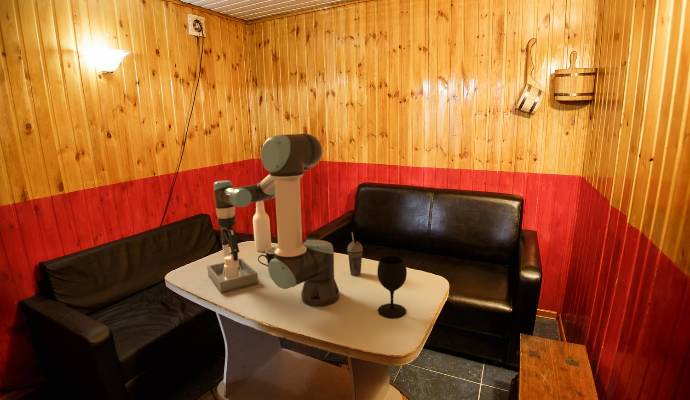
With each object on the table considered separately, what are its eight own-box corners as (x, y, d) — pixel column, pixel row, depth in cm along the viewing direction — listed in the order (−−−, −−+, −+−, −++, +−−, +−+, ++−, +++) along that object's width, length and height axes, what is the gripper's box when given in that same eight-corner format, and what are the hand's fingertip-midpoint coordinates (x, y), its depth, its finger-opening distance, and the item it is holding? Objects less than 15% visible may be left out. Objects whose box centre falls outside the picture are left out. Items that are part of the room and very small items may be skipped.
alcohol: (273, 246, 208) (269, 194, 201) (268, 252, 199) (264, 198, 193) (258, 246, 209) (254, 194, 203) (252, 252, 200) (248, 198, 194)
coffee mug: (287, 267, 179) (286, 247, 176) (282, 274, 170) (281, 253, 168) (264, 266, 180) (262, 247, 178) (258, 274, 171) (256, 253, 169)
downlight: (239, 272, 171) (236, 252, 168) (243, 278, 165) (240, 257, 162) (221, 277, 166) (218, 257, 164) (225, 283, 161) (222, 262, 158)
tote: (258, 283, 161) (257, 273, 160) (221, 293, 152) (219, 282, 151) (242, 267, 179) (241, 258, 178) (208, 276, 171) (207, 265, 169)
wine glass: (371, 311, 135) (371, 260, 131) (389, 301, 142) (389, 252, 138) (394, 321, 128) (394, 268, 124) (412, 310, 135) (412, 259, 131)
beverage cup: (366, 275, 166) (365, 233, 162) (351, 278, 163) (350, 235, 159) (359, 270, 173) (358, 229, 168) (345, 272, 170) (344, 231, 166)
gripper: (243, 220, 151) (248, 269, 155) (226, 210, 172) (231, 253, 176) (225, 223, 147) (230, 273, 151) (210, 212, 168) (215, 256, 172)
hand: (231, 262), depth 164 cm, fingers open, 13 cm apart
